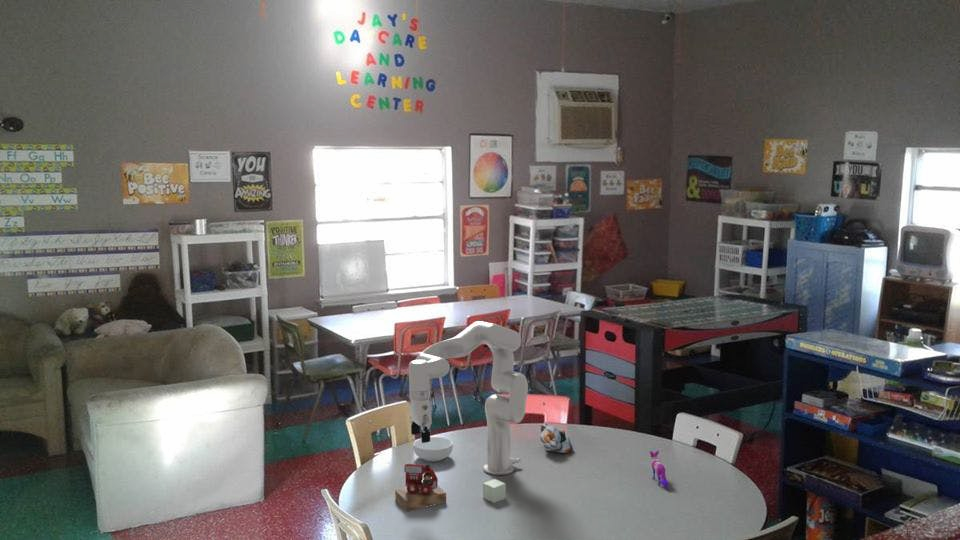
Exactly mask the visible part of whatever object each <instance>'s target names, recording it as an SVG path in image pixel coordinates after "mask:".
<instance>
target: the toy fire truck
mask: <svg viewBox="0 0 960 540" xmlns="http://www.w3.org/2000/svg"><path fill="white" fill-rule="evenodd" d="M403 469H404V473H405V488H407V491H408V493H410V494H415V493H416V492H417V491H418V488H420V491H421V493H422V494H424V495H428V494H430V492H431V489H436V488H437V485H438V476H437V474H436V472H435V471H434V469H433V468H431V466H430V464H428V463H427V464H425V465H424V464H417V463H406V464H405V465H404V468H403ZM438 486H439V485H438Z"/></svg>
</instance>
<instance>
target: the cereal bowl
mask: <svg viewBox="0 0 960 540" xmlns="http://www.w3.org/2000/svg"><path fill="white" fill-rule="evenodd" d="M453 444H454V442H453V441H452V440H451V439H448V438H447V437H439V436H430V442H426V443H422V438H420V439H417V440H415V441H414V442H413V445H412V446H413V452H414V454H415V455H416V457H418V458H419V459H422V460H424V461H425V460H426V461H425V462H428V461H430V462H429V463H436V461H437V462H440V461H442V460H444V459H446V458H448V457H449V456H450V455H451V454H452V452H453V447H454V445H453Z"/></svg>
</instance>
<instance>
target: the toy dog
mask: <svg viewBox="0 0 960 540" xmlns="http://www.w3.org/2000/svg"><path fill="white" fill-rule="evenodd" d="M659 452H660V451H659V450H657V451H655V452H653V451H651V450H650V451H649V453H650V458H651V469H652V473H653V477H652V479H653V480H655V478H656V476H657V478H658V483H657V485H658V486H660V485H662V486H663V487H664V488H667V487H668V486H669V484H668V479H667V477H666V467H665V466H664V465H663V464H662V462H661V461H660V459H659V457H658V455H659Z"/></svg>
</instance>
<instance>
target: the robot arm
mask: <svg viewBox="0 0 960 540" xmlns="http://www.w3.org/2000/svg"><path fill="white" fill-rule="evenodd" d="M482 344H483V345H484V344H485V345H487V347H488V348H489V349H490V351H491V353H492V357H493V358H492V371H491V380H490V381H491V382H490V383H491V385H490V386H491V388H492V389H493V391H496V392H498V393H501V394H492V395H490V396H488V397H487V398H486V400H485V403H484V413H485V417H486V427H487V428H486V431H487V432H486V434H487V435H486V436H487V437H486V442H487V443H486V444H487V446H486V448H487V450H486V451H487V452H486V454H487V456H486V457H487V458H486V460H487V461H486V463H485V464H483V471H484V472H485V473H487V474H489V475H492V476H493V475H494V476H505V475H510V474H511V473H513V472H514V470H515V467H514V465H515V464H519V463H521V461H522V460H521V458H520V457H517V458H515V457H514V456H512V457H511V425H510V423H511V424H519V423H520V422H521V421H523V419H524V417H525V413H526V409H527V399H528V391H529V390H528V389H529V387H528V386H529V385H528V379H527V378H526V376H525V375H524V374H523V373H521V372H517V371H514V370H515V369H514V366H515V365H514V362H515V358H514V357H515V355H514V352H516V351H517V350H519V348H520V346H521V344H522V337H521V335H520V333H519V332H517V331H516V330H514V329H511V328H508V327H505V326H503V325H500V324H498V323H497V324H496V323H493V322H486V321H482V320H478V321H477V320H476V321H473V322H472V323H471V324H469V325H468V326H467V327H466V328H464V329H463V330H462V331H460V332H459V333H458V334H457V335H455V336H453V337H451V338H447V339H445V340H442V341H438V342H437V343H433V344H432V345H429V346H428V347H426V348H425V349H424V350H422V351H421V352H420V353H419V354H417V356H416V358H415V359H414V360H410V362H409V363H408V387H409V388H408V391H409V397H408V399H409V400H410V403H409V404H410V406H409V408H410V410H409V413H410V417H409V418H410V429H411V430H410V431H411V433H410V434H411V436H413V435H418V434H420V433H421V439H422V443H426V442H430V437H431V428H432V427H431V425H432V421H433V420H432V405H431V401H430V398H431V392H430V390H431V389H430V380H431V379H439V378H443V377H446V375H448V373H449V372H450V369H451V366H450V362H449V361H448V360H447V359H457V358H464V357H466V356H468V355H469V354H470V353H472V352H473V351H474V350H475V349H477V348H478V347H480V345H482ZM502 394H505V395H508V396H505V395H502ZM420 428H421V429H420ZM420 431H421V432H420Z"/></svg>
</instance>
